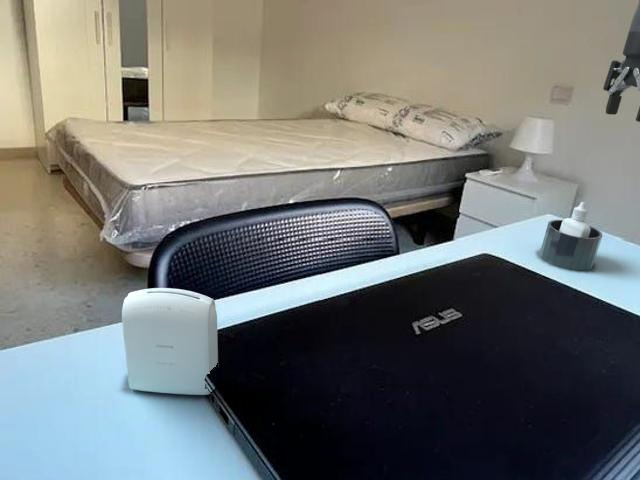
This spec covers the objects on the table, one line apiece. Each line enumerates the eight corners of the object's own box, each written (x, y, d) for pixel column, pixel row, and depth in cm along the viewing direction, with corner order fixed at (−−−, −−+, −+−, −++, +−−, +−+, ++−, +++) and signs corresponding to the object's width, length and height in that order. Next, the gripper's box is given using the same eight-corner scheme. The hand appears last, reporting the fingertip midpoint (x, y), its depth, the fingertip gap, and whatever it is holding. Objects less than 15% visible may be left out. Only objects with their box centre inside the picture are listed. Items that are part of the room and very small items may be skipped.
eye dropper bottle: (558, 262, 98) (575, 205, 94) (551, 251, 103) (567, 196, 99) (581, 266, 98) (600, 208, 93) (573, 254, 103) (590, 199, 98)
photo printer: (122, 392, 56) (113, 297, 51) (136, 368, 60) (129, 277, 55) (213, 400, 56) (212, 305, 51) (221, 376, 60) (221, 285, 55)
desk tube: (571, 250, 106) (581, 220, 103) (602, 271, 97) (613, 239, 95) (529, 250, 104) (538, 219, 102) (557, 272, 96) (567, 238, 93)
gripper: (701, 33, 88) (669, 125, 95) (641, 31, 101) (616, 112, 108) (664, 30, 87) (635, 124, 93) (608, 28, 100) (586, 111, 106)
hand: (625, 117), depth 100 cm, fingers open, 8 cm apart
